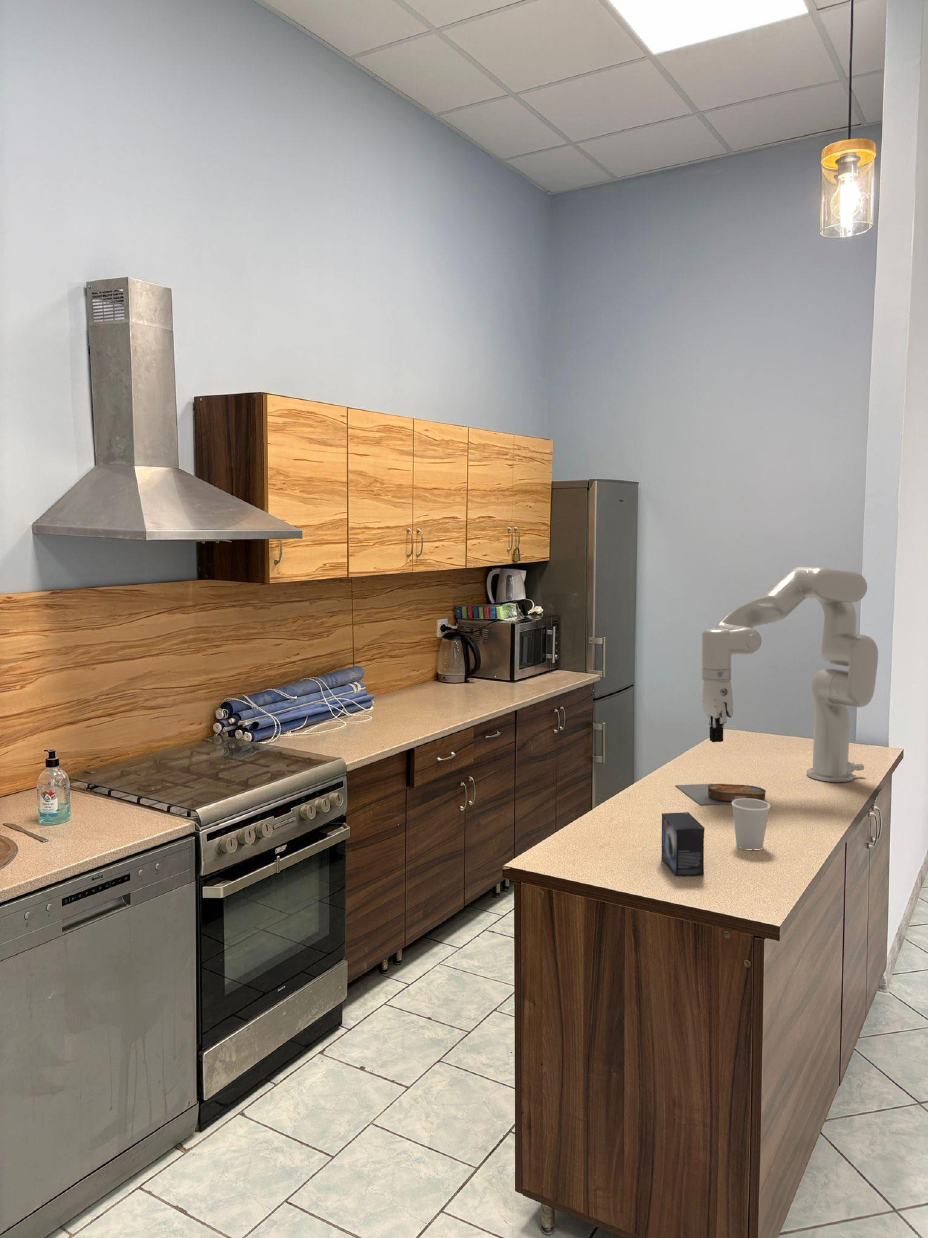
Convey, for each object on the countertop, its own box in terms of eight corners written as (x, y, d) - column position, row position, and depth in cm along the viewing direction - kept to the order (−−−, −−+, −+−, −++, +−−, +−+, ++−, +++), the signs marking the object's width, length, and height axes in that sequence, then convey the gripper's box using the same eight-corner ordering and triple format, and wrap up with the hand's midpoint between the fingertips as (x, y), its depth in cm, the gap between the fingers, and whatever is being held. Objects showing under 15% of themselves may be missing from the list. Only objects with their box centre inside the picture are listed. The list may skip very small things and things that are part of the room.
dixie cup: (763, 855, 199) (765, 811, 198) (725, 848, 203) (727, 805, 202) (772, 844, 206) (774, 801, 205) (736, 838, 210) (737, 796, 210)
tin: (760, 785, 245) (770, 792, 236) (760, 797, 245) (769, 804, 236) (704, 782, 245) (712, 789, 237) (704, 794, 245) (711, 801, 237)
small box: (659, 859, 197) (659, 812, 196) (688, 858, 198) (689, 811, 197) (674, 877, 187) (675, 828, 186) (704, 876, 187) (706, 827, 186)
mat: (712, 784, 255) (712, 783, 255) (740, 803, 237) (740, 802, 237) (675, 786, 253) (675, 785, 253) (700, 805, 235) (700, 804, 235)
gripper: (742, 678, 235) (741, 747, 237) (718, 669, 250) (718, 734, 252) (714, 679, 234) (714, 749, 236) (692, 670, 249) (692, 735, 251)
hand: (716, 741), depth 244 cm, fingers closed
